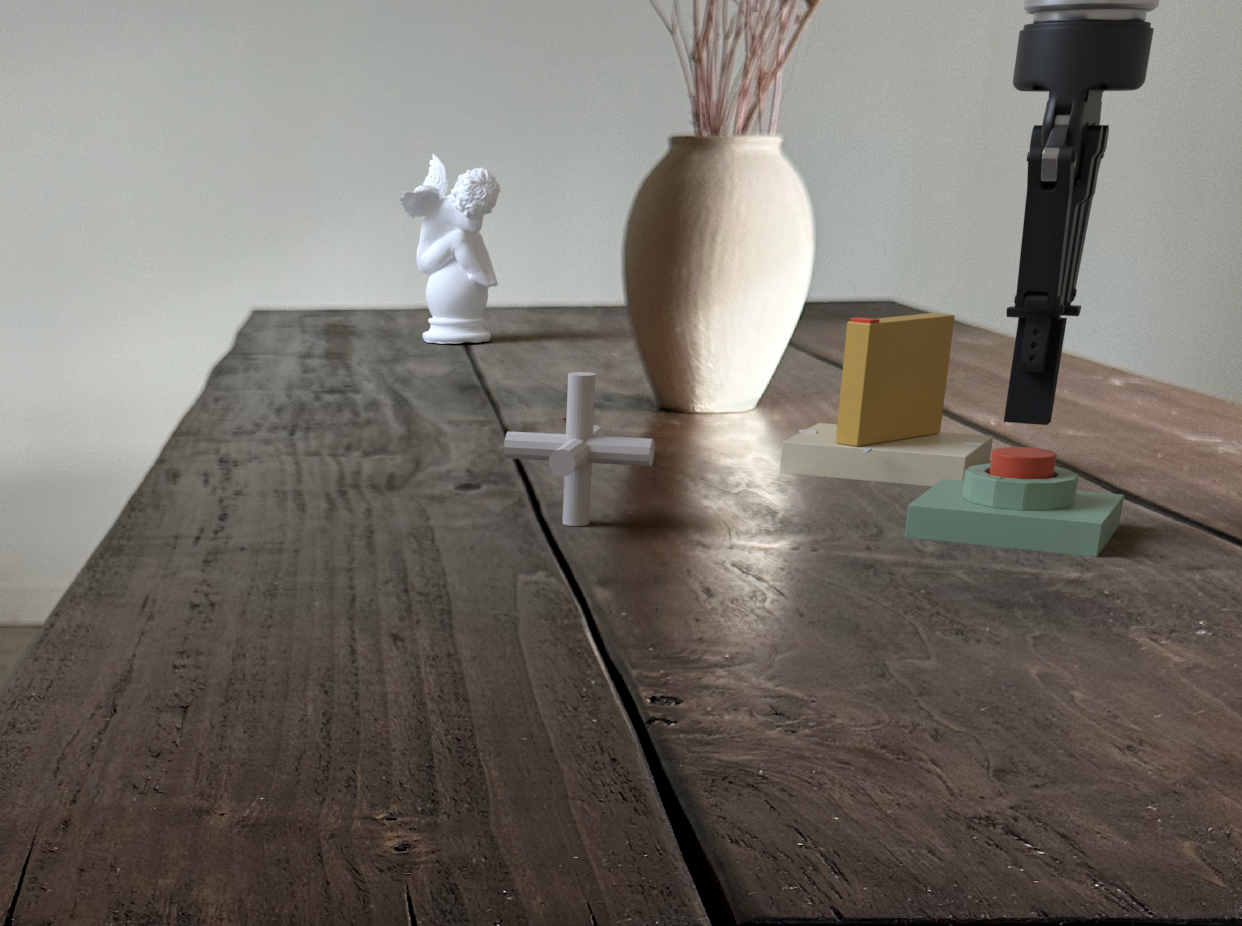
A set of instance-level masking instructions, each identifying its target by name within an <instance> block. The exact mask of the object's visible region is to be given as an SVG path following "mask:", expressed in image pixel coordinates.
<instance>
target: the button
mask: <svg viewBox="0 0 1242 926" xmlns="http://www.w3.org/2000/svg"><path fill="white" fill-rule="evenodd" d="M1056 461H1057V453H1056V452H1055V451H1053V450H1050V449H1045V448H1039V447H1031V446H1030V447H1029V446H1004V447H997V448H994V449H992V450H991V456H990V463H991V465H990V472H989V474H990V475H995V476H1000V477H1005V478H1016V479H1048V478H1053V476H1054V469H1055V467H1056Z"/></svg>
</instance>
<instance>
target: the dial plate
mask: <svg viewBox="0 0 1242 926" xmlns="http://www.w3.org/2000/svg"><path fill="white" fill-rule="evenodd" d="M836 431H837V424H835V423H824V422H823V423H822V422H818V423H815V424H814V425H812V426H810V427H808V428H806V429H798V433H796V434H795V435H793V436H790V437H789V438H787V439H785V440H783V441H782V442H781V451H780V452H781V453H780V464H779V474H782V475H783V474H784V475H795V476H807V477H818V478H828V479H838V478H840V479H839V480H850V481H851V480H852V481H862V482H872V483H873V482H874V483H885V484H895V485H905V486H906V485H907V486H919V487H930V488H931V487H933V486H934V485H935V484H937V483H938V482H939V481H940V480H942V479H948V480H960V481H964V475H965V470H967V469H968V468H969V467H970V466H974V465H981V464H988V463H991V456H992V448H993V440H994V436H993V435H983V434H972V433H971V434H970V433H956V432H944V431H943V432H942V431H940V433H937V434H931V435H925V436H919V437H913V438H906V439H900V440H894V441H888V442H882V443H876V444H869V445H863V446H852V445H846V444H840V443H836V442H835V441H836Z"/></svg>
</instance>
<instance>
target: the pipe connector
mask: <svg viewBox="0 0 1242 926" xmlns="http://www.w3.org/2000/svg"><path fill="white" fill-rule="evenodd" d="M596 375H597V374H596V373H594V372H588V371H587V372H586V371H574V372H569V373H567V395H566V397H567V398H566V422H565V423H566V425H565V433H547V432H529V431H528V432H527V431H509V430H508V431H507V432H506V434H505V437H504V443H503V453H504V457H505V458H506V459H511V460H512V459H513V460H531V461H548V467H549V470H550V472H551V473H552V474H553V475H554V476H556V477H560V478H563V497H562V498H563V499H562V500H563V501H562V524H563V525H565V526H569V527H585V526H588V525H590V511H591V509H590V508H591V489H592V487H591V486H592V465H593V464H600V465H601V464H604V465H620V466H621V465H622V466H638V467H639V466H641V467H652V465H653V462H654V457H655V440H654V438H646V437H645V438H644V437H627V436H607V432H606V430H605V429H604V428H603V427H602V426H599V425H597V424H594V421H595V420H594V417H595V397H596V396H595V395H596Z"/></svg>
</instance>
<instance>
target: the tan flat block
mask: <svg viewBox="0 0 1242 926" xmlns="http://www.w3.org/2000/svg"><path fill="white" fill-rule="evenodd" d="M955 316H956V315H955V314H949V313H948V314H947V313H939V312H938V313H937V312H927V313H917V314H908V315H898V316H888V317H879V318H871V317H861V316H858V317H850V320H848V321H847V324H846V332H845V333H846V334H845V345H844V353H843V362H842V363H843V364H842V374H841V384H840V391H839V392H840V393H839V403H838V414H837V431H836V441H835V442H836V443H840V444H846V445H852V446H863V445H869V444H876V443H882V442H888V441H894V440H900V439H906V438H913V437H919V436H925V435H931V434H937V433H940V432H941V430H942V429H941V428H942V421H943V414H944V413H943V412H944V405H945V398H946V397H945V396H946V388H947V383H948V382H947V381H948V375H949V364H950V356H951V349H952V340H953V332H954V326H955V325H954V324H955V318H956V317H955Z"/></svg>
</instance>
